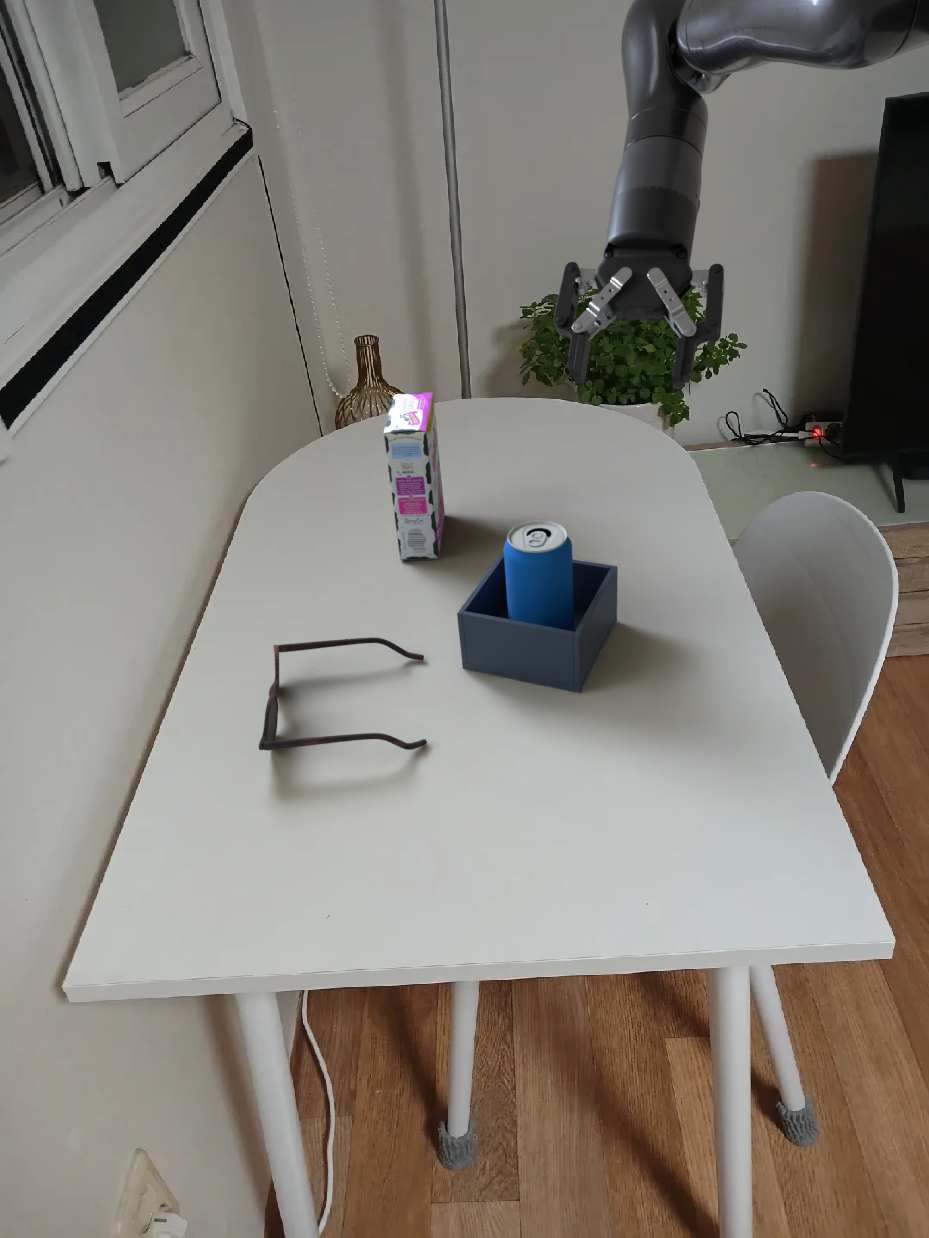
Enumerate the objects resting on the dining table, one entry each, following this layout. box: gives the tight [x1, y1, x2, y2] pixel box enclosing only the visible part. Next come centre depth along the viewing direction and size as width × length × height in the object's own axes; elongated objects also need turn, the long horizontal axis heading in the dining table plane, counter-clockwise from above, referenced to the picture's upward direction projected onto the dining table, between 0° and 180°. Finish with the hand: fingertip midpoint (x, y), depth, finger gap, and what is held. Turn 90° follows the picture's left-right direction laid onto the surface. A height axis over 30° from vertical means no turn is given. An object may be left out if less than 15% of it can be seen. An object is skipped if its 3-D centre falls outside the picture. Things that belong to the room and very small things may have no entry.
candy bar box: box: [383, 392, 446, 561], centre depth 111 cm, size 11×5×16 cm, turn 178°
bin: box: [456, 549, 619, 694], centre depth 95 cm, size 12×12×7 cm
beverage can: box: [503, 519, 574, 631], centre depth 93 cm, size 6×6×12 cm
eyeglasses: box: [258, 637, 428, 752], centre depth 90 cm, size 15×15×5 cm
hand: (627, 382), depth 82 cm, fingers open, 8 cm apart
